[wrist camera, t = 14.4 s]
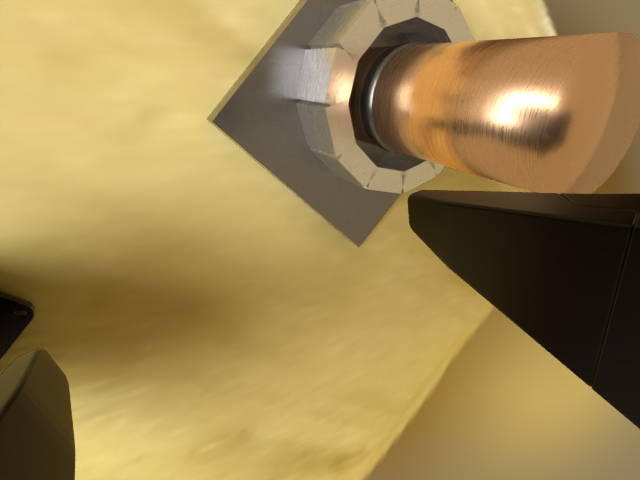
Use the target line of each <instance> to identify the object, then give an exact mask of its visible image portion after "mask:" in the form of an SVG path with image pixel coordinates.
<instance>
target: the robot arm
mask: <svg viewBox="0 0 640 480" xmlns="http://www.w3.org/2000/svg"><path fill="white" fill-rule="evenodd" d="M408 213H409V223H410V226H411V229H412V230H413V231H414V232H415V233H416V235H417V236H418V237H419V238H420V239H421V240H422V241H423V242H424V243H425V244H426V245H427V246H428V247H429V248H430V249H431V250H432V251H433V252H434V253H435V254H436V255H437V256H438V258H439V259H440V260H441V261H442V262H443V263H444V264H445V265H446V266H448V267H449V268H450V269H451V270H452V271H453V272H454V273H456V274H457V275H458V276H459V277H460V278H461V279H463V280H464V281H465V282H466V283H467V284H469V285H470V286H471V287H472V288H473V289H475V290H476V291H477V292H478V293H479V294H480V295H482V296H483V297H484V298H485V299H486V300H488V301H489V302H490V303H491V304H492V305H494V306H495V307H496V308H497V309H498V310H499V311H501V312H502V313H503V314H505V316H507V317H508V318H509V319H510V320H511V321H513V322H514V323H515V324H516V325H517V326H519V327H520V328H521V329H522V330H523V331H524V332H526V333H527V334H528V335H529V336H530V337H532V338H533V339H534V340H535V341H536V342H538V343H539V344H540V345H541V346H542V347H544V348H545V349H546V350H547V351H548V352H550V353H551V354H552V355H553V356H554V357H555V358H557V359H558V360H559V361H560V362H561V363H562V364H564V365H565V366H566V367H567V368H569V369H570V370H571V371H572V372H573V373H574V374H576V375H577V376H578V377H579V378H580V379H582V380H583V381H584V382H585V383H586V384H587V385H589V386H592V389H593V390H594V391H595V392H597V393H598V394H599V395H600V396H601V397H602V398H604V399H605V400H606V401H607V402H608V403H610V404H611V405H612V406H613V407H614V408H616V409H617V410H618V411H619V412H620V413H622V414H623V415H624V416H625V417H626V418H627V419H629V420H630V421H631V422H632V423H633V424H634V425H636V426H637V427H638V428H639V429H640V194H576V193H561V194H558V193H531V192H489V191H447V190H420V191H418V192H415V193H413V194H411V195H410V196H409V197H408ZM17 310H24V311H26V312H27V313H26V314H25V315H17V314H16V313H15V311H17ZM34 312H35V307H34V306H33V305H32V304H31V303H29V302H27V301H25V300H22V299H19V298H17V297H14V296H11V295H9V294H6V293H3V292H1V291H0V359H1V358H2V357H3V355H4V354H5V353H6V352H7V350H8V349H9V348H10V347H11V345H12V344H13V343H14V341H15V340H16V339H17V338H18V336H19V335H20V334H21V333H22V331H23V330H24V329H25V327H26V326H27V325H28V324H29V322H30V321H31V320H32V318H33V316H34ZM0 480H75V440H74V430H73V421H72V411H71V402H70V392H69V384H68V380H67V378H66V376H65V374H64V373H63V372H62V370H61V369H60V368H59V366H58V365H57V364H56V363H55V361H54V360H53V359H52V357H51V356H50V355H49V354H48V352H47V351H45V350H44V349H40V348H39V349H36V350H33V351H31V352H28V353H26V354H24V355H21V356H19V357H18V358H16V359H15V360H14V361H13V362H12V364H11V365H10V366H9V367H8V368H7V369H6V370H5V371H4V372H3V373H2V374H1V375H0Z"/></svg>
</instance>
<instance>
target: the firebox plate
mask: <svg viewBox="0 0 640 480" xmlns="http://www.w3.org/2000/svg"><path fill="white" fill-rule="evenodd" d="M455 4H456V3H454V2H453V1H452V0H300V1H299V3H298V4H297V5H296V6H295V8H294V9H293V10H292V12H291V13H290V14H289V15H288V17H287V18H286V19H285V20H284V22H283V23H282V24H281V25H280V27H279V28H278V29H277V31H276V32H275V33H274V34H273V36H272V37H271V38H270V39H269V41H268V42H267V43H266V45H265V46H264V47H263V48H262V50H261V51H260V52H259V53H258V55H257V56H256V57H255V59H254V60H253V61H252V62H251V64H250V65H249V66H248V67H247V69H246V70H245V71H244V73H243V74H242V75H241V76H240V78H239V79H238V80H237V81H236V83H235V84H234V85H233V87H232V88H231V89H230V90H229V92H228V93H227V94H226V95H225V97H224V98H223V99H222V101H221V102H220V103H219V104H218V106H217V107H216V108H215V109H214V111H213V112H212V113H211V115H210V116H209V117H208V118H207V120H208V121H209V122H211V123H212V124H213V125H214V126H215V127H216V128H218V129H219V130H220V131H221V132H222V133H223V134H225V135H226V136H227V137H228V138H229V139H231V140H232V141H233V142H234V143H235V144H236V145H238V146H239V147H240V148H241V149H242V150H243V151H245V152H246V153H247V154H248V155H249V156H251V157H252V158H253V159H254V160H255V161H256V162H258V163H259V164H260V165H261V166H262V167H263V168H265V169H266V170H267V171H268V172H269V173H271V174H272V175H273V176H274V177H275V178H276V179H278V180H279V181H280V182H281V183H282V184H283V185H285V186H286V187H287V188H288V189H289V190H291V191H292V192H293V193H294V194H295V195H296V196H298V197H299V198H300V199H301V200H302V201H303V202H305V203H306V204H307V205H308V206H309V207H310V208H312V209H313V210H314V211H315V212H316V213H318V214H319V215H320V216H321V217H322V218H323V219H325V220H326V221H327V222H328V223H329V224H330V225H332V226H333V227H334V228H335V229H336V230H338V231H339V232H340V233H341V234H342V235H343V236H345V237H346V238H347V239H348V240H349V241H350V242H352V243H353V244H355V245H356V246H358V247H359V246H360V245H361V244H362V242H363V241H364V240H365V238H366V237H367V236H368V235H369V233H370V232H371V231H372V229H373V228H374V227H375V226H376V224H377V223H378V222H379V220H380V219H381V218H382V217H383V215H384V214H385V213H386V211H387V210H388V209H389V208H390V206H391V205H392V204H393V203H394V201H395V200H396V199H397V197H398V196H399V195H400V194H401V192H402V193H405V192H407V191H409V190H411V189H413V188H415V187H417V186H419V185H421V184H423V183H425V182H427V181H429V180H431V179H433V178H435V174H437V175H438V174H439V173H440V172H441V171H442V169H443V168H444V167H445V166H444V165H440V164H437V163H433V162H430V161H426V160H423V159H420V158H416V157H413V156H409V155H399V154H395V153H392V152H389V151H386V150H383V149H381V148H380V147H378V146H375V145H372V144H368V143H365V142H362V141H359V140H356V139H355V136H354V131H353V126H352V121H351V116H350V111H349V106H348V103H349V98H350V94H351V90H352V86H353V81H354V77H355V73H356V68H357V64H358V60H359V59H360V58H361V56H362V55H363V54H364V53H365V51H366V50H367V49H368V48H371V47H384V46H395V45H397V44H401V43H411V42H424V43H428V44H434V43H450V42H467V41H475V40H474V38H473V36H472V34H471V32H470V30H469V28H468V25H467V23H466V21H465V19H464V17H463V15H462V13H461V11H460V9H459V7H455Z"/></svg>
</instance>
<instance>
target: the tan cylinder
mask: <svg viewBox="0 0 640 480" xmlns="http://www.w3.org/2000/svg"><path fill="white" fill-rule="evenodd" d="M348 106H349V111H350V116H351V121H352V126H353V131H354V136H355V139H356V140H359V141H362V142H365V143H368V144H372V145H375V146H378V147H380V148H381V149H383V150H386V151H389V152H392V153H395V154H399V155H409V156H413V157H416V158H420V159H423V160H426V161H430V162H433V163H437V164H440V165H444V166H447V167H450V168H454V169H457V170H461V171H464V172H467V173H471V174H474V175H478V176H481V177H485V178H488V179H491V180H495V181H498V182H502V183H505V184H509V185H512V186H515V187H519V188H522V189H526V190H529V191H532V192H536V193H558V194H561V193H576V194H591V193H592V192H594V191H595V190H596V189H597V188H598V187H600V186H601V185H602V184H603V183H604V182H605V181H606V180H607V179H608V178H609V176H610V175H611V174H612V173H613V172H614V170H615V169H616V168H617V166H618V165H619V163H620V162H621V160H622V159H623V157H624V155H625V154H626V152H627V150H628V148H629V146H630V144H631V142H632V140H633V138H634V136H635V134H636V131H637V129H638V126H639V124H640V40H639V39H638V38H637V37H636V36H634V35H633V34H631V33H627V32H615V33H598V34H582V35H566V36H549V37H533V38H516V39H500V40H483V41H467V42H450V43H434V44H428V43H424V42H411V43H401V44H397V45H395V46H384V47H371V48H368V49H367V50H366V51H365V53H364V54H363V55H362V56H361V58H360V59H359V60H358V64H357V68H356V73H355V77H354V81H353V86H352V90H351V94H350V98H349V103H348Z"/></svg>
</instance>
